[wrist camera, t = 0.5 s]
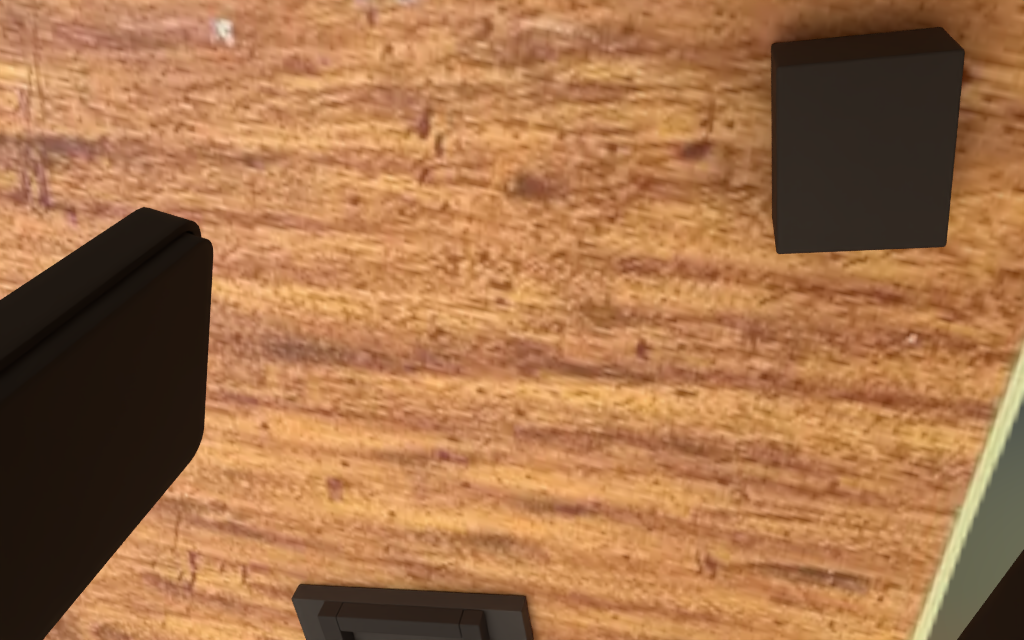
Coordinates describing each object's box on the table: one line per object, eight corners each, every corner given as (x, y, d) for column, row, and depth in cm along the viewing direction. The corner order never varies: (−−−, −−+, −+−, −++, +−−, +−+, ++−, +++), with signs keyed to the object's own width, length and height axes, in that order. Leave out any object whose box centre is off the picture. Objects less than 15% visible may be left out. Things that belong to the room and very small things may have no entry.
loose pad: (771, 42, 28) (775, 67, 26) (943, 26, 27) (965, 49, 24) (771, 218, 31) (776, 255, 28) (927, 210, 30) (946, 247, 27)
